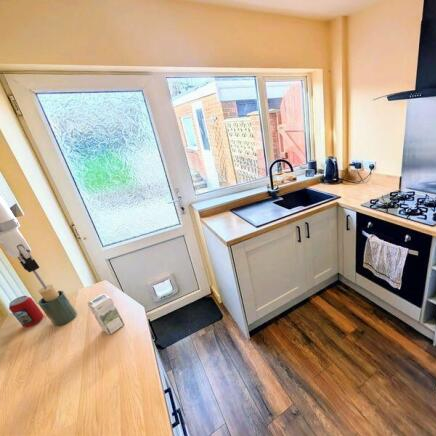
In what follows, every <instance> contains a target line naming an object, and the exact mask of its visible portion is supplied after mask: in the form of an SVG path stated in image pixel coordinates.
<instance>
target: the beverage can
mask: <svg viewBox="0 0 436 436" xmlns="http://www.w3.org/2000/svg"><path fill="white" fill-rule="evenodd" d="M8 309H9V311H10V312H11V314H12V315H13V316H14V317H15V318H16V320H17V321H18V322H19V323H20V324H21V326H22V327H24V328H28V327H32V326H35V325H36V324H38V323H40V322H41V321H42V319H43V318H44V316H45V315H44V313H43V312H42V310H41V309H40V307H39V306H38V305H37V304H36V302H35V301H34V299H33V298H32V297H29V296H28V295H22V296H19V297H16V298H15V299H13V300H11V301H10V302H9V306H8Z"/></svg>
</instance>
